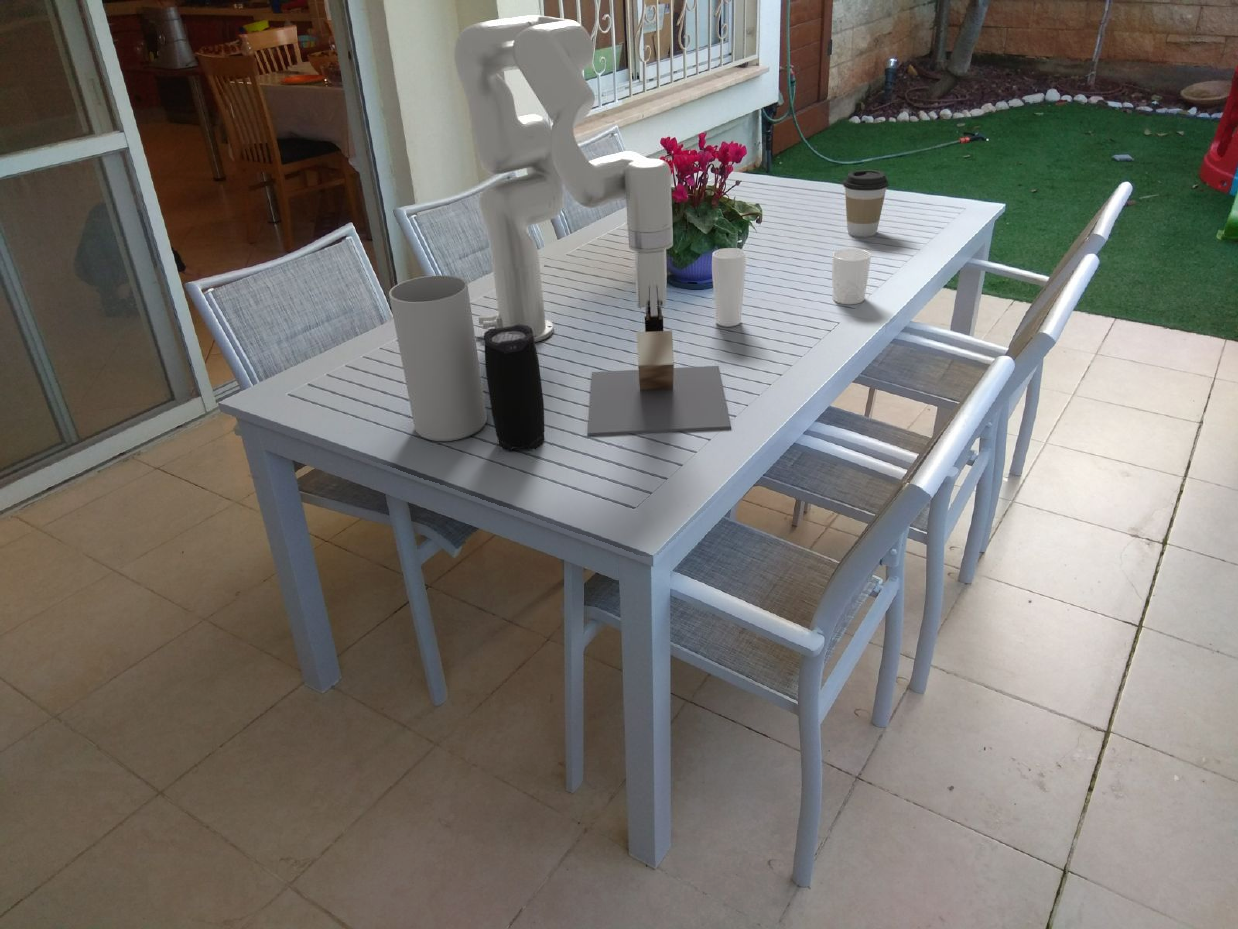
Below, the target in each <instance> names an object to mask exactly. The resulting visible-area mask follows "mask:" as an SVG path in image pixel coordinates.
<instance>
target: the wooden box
mask: <svg viewBox="0 0 1238 929" xmlns="http://www.w3.org/2000/svg"><path fill="white" fill-rule="evenodd" d="M636 341H637V343H636V344H637V345H636V346H637V365H638V368H637V370H639V384H640V391H645V390H665V389H673V375H674V368H675V366H674V365H675V360H674V344H673V343H674V342H673V330H664V331H656V332H645V331H642V332H640V331H638V332H636Z"/></svg>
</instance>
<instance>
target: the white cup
mask: <svg viewBox="0 0 1238 929" xmlns="http://www.w3.org/2000/svg"><path fill="white" fill-rule="evenodd" d="M871 256H872V254H871V252H869V251H867V250H864V249H861V248H860V249H859V248H842V249H838V250H836V251H833V253H832V268H831V270H832V273H831V274H832V277H831V278H832V284H831V285H832V299H833V301H834V302H836V303H838V304H842V305H856V304H860V303H862V302H864V301H865V297H866V289H867V285H868V279H869V272H870V265H871Z"/></svg>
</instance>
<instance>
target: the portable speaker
mask: <svg viewBox="0 0 1238 929" xmlns="http://www.w3.org/2000/svg"><path fill="white" fill-rule="evenodd" d="M483 341H484V363H485V365H484V367H485V374H486V382H487V388H488V395H489V396H488V397H489V402H490V403H489V404H490V411H491V417H492V420H493V425H494V430H495V434H496V435H495V436H496V437H497V441H498V446H499V448H501V450H503V451H506V452H511V450H513V449H522V448H529V449H530V450H537V449H538V448H540V447H541V446H543V444H544V442H545V404H544V395H543V387H542V378H541V371H540V370H541V369H540V362H539V355H538V351H537V347H536V342H535V341H534V337H533V331H532V329H531V328H530V327H529V326H527V325H520V324H518V325H515V326H510V327H504V328H497V329H495V327H493V328H490V329H488V330H486V331H485V332H484V335H483Z"/></svg>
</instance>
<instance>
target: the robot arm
mask: <svg viewBox="0 0 1238 929" xmlns="http://www.w3.org/2000/svg"><path fill="white" fill-rule="evenodd" d="M453 53H454V55H453V56H454V62H455V64H454V65H455V69H456V72H457V75H458V78H459V81H460V83H461V86H462V88H463V90H464V93H465V95H466V99H467V103H468V104H467V105H468V108H469V115H470V119H471V126H472V131H473V137H474V143H475V147H476V153H477V156H478V161H479V163H480V165H481V168H482V169H483V170H484V171H485V172H486V173H488V174H491V175H503V174H507V173H512V172H516V171H520V170H523V169H526V173H527V174H525V175H521V176H516V177H512V178H509V179H505V180H501V181H498V182H495V183H492V184H491V185H489V186H487V187H486V188H485V189H484V190H483V191H482V192H481V195H480V196H479V201H478V207H479V211H480V216H481V220H482V222H483V225H484V228H485V229H484V230H485V232H486V236H487V240H488V244H489V251H490V259H491V264H492V265H491V266H492V272H493V279H494V288H495V289H494V290H495V295H496V296H495V297H496V303H497V313H493V315H478V323H479V324H478V325H480V326H483V329H489V328H490V329H491V328H495V329H497V328H504V327H510V326H515V325H518V324H520V325H527V326H529V327H530V328H531V329H532V331H533V337H534V341H535V343H537V342H541V341H543V340H546V339H548V338H550V336H551V335H553V333H554V332H555V331H554V328H555V326H554V324H553V322H552V321H551V320H548V319H546V315H545V314H546V313H545V305H544V304H545V303H544V295H543V286H542V276H541V275H542V274H541V265H540V264H541V263H540V257H539V256H540V255H539V250H538V246H537V244H536V242H535V240H533V239H532V237H531V235H529V233H528V232H527V230H526V229H527V228H528V227H531V226H533V225H537V224H541V223H544V222H546V221H551V220H552V219H554V218H557V217H558V216H559V215H560V214H561V213H562V211H563V209H564V204H565V192H564V190H565V189H564V187H565V188H566V190H567V192H569V194H570V195H571V196H572V198H573V199H574V200H575V201H576V202H577V203H578V204H579V205H581V206H583V207H586V208H589V209H591V208H592V209H593V208H599V207H601V206H606V205H609V204H612V203H615V202H618V201H622V200H623V201H624V200H625V205H626V207H625V208H626V222H627V244H628V248H629V249H630V250H631V251H634V274H635V292H636V294H635V295H636V306H637V308H638V309H640V310H642V308H645V316H644V332H656V331H665V329H664V315H662V312H663V311H662V309H663V308H664V307H665V306H666V302H667V284H668V283H667V280H668V279H667V250H669V249H670V248H672V247H673V245H674V238H673V236H674V235H673V233H674V231H673V203H672V202H673V199H672V198H673V196H672V172H671V171H672V170H671V166H670V165H669V163H668V162H667V161H665V160H663V159H659V158H648V157H646V156H643V155H642V154H640V153H638V152H635V151H632V150H631V151H630V150H627V151H626V150H624V151H619V152H616V153H613V154H607V155H604V156H600V157H596V158H591V159H589V160H588V158H587V157H586V155H585V154H584V152H583V151H582V150H581V148H580V146H579V144H578V143H577V140H576V137H575V133H574V128H575V127H576V126H577V125H579V124H580V123H581V122H582V121H583V120H584V119H585V118H586V117H587V116H588V114H589V113H590V112H591V110H592V108H593V107H594V105H595V101H596V100H595V99H596V98H595V93H594V91H593V89H592V88H591V86H590V85H589V83H588V82H587V80H586V79H585V77H584V76H583V74H582V71H585V70H586V69H587V68H588V67H589V66H590V65H591V63H592V61H593V60H594V43H593V41H592V38H591V36H590V34H589V31H587V29H586V28H585V27H584V26H583V25H582V24H581V23H579V22H577V21H576V20H573V19H568V18H560V17H559V18H558V17H553V16H546V15H541V14H539V15H537V14H532V15H522V16H516V17H515V16H514V17H509V18H498V19H493V20H492V19H491V20H486V21H482V22H477V23H474V24H471V25H469V26H467V27H466V28H464V29H463V30H462V31H461V32H460V33H459V34H458V36H457V37H456V40H455V46H454V50H453ZM515 70H519V71H520V72H521V75H523V77H524V78H525V80H526V82H527V83H528V86H529V87H530V88H531V90H532V92H533V93H534V95H535V96H536V98H537V100H538V101H539V103H540V104H541V106H542V108H543V109H544V111H545V112H546V114H547V116H548V117H549V119H550V121H551V125H550V123H549V122H548V120H546V119H545V118H544V117H543V116H541V115H538V114H533V113H532V114H525V115H520V116H517V112H516V106H515V99H514V95H513V93H512V90H511V89H510V87H509V85H508V84H507V83H506V81H505V80H504V79H503V77H502V76H501V75H500V74H498V73H502V72H506V71H507V72H508V71H515Z"/></svg>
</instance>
